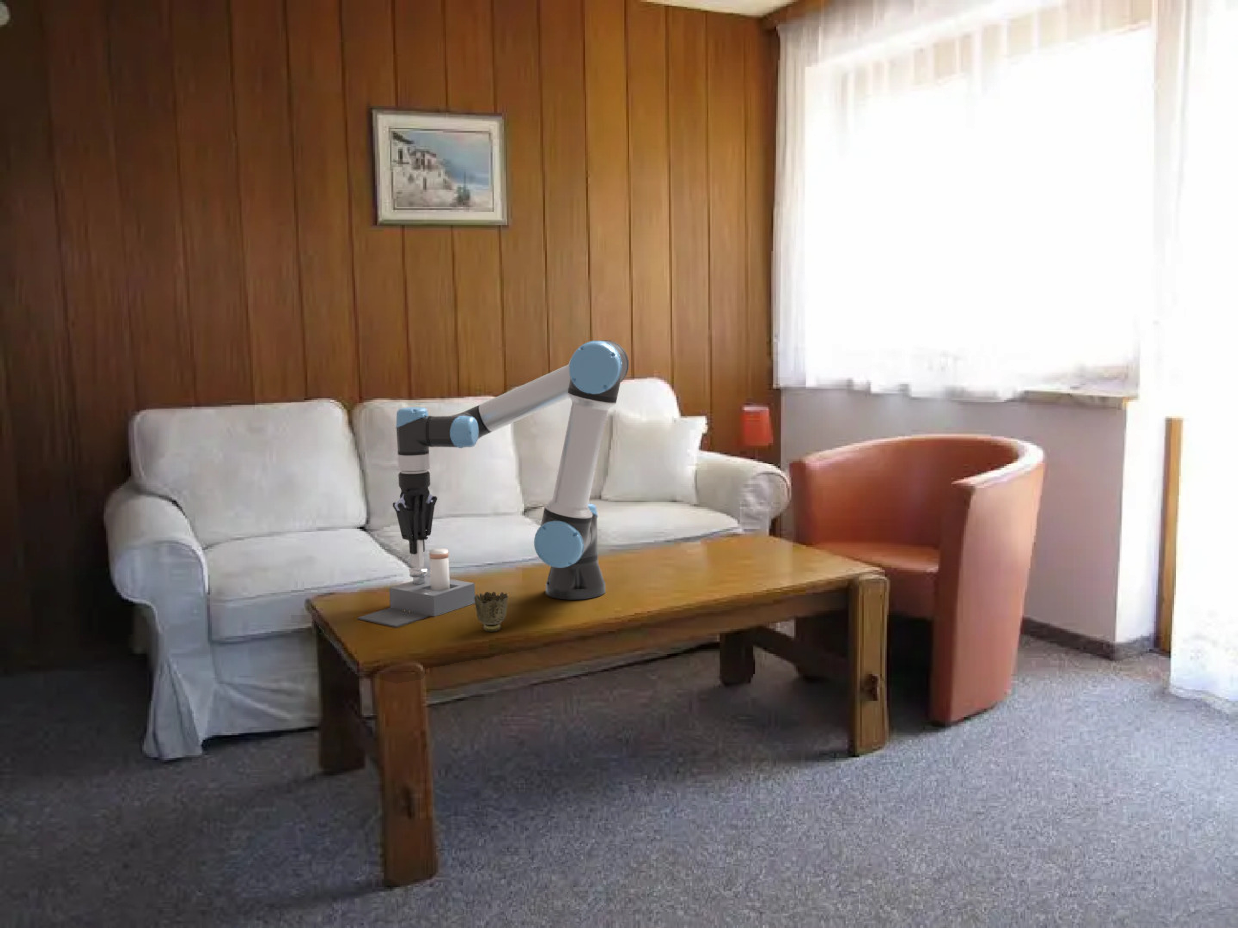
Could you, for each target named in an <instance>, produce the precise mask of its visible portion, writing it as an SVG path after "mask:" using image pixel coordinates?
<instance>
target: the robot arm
mask: <svg viewBox="0 0 1238 928" xmlns="http://www.w3.org/2000/svg"><path fill="white" fill-rule="evenodd" d="M629 366H630V362H629V357H628V354H627V352H626V350H625V349H624V348H623V347H622V345H620V344H619V343H617V342H615V341H612V340H607V339H601V340H597V339H596V340H591V341H587V342H585V343H583V344H582V345H580V346H579V347H578V348H577V349H576V350H575V351H574V353H573V354H572V356H571V358H570V359H569V362H568V364H567V365H564V366H562V367H560V368H558V369H555V370H553V371H551V372H549V373H547V374H544V375H542V376H539V377H537V378H535V379H533V380H531V381H529V382H526V383H525V384H522V385H520V386H518V387H516V388H513V389H511V390H509V391H507V392H505V393H503V394H500V395H498V396H496V397H494V398H492V399H489V400H486V401H485V402H483V403H481V404H478V405H476V406H474V407H472V408H469V409H467V410H465V411H462V412H459V413H455V414H453V415H438V416H437V415H436V416H435V415H429V413H428V409H427V407H423V406H422V407H418V406H416V407H415V406H412V407H402V408H399V409H398V410H397V411H396V418H395V419H396V421H395V422H396V424H395V425H396V426H395V429H396V430H395V431H396V445H397V468H398V470H399V473H398V475H397V476H398V487H399V489H400V495H399V499H398V500H397V502H396V501H395V502H393V503H392V508H393V509H394V511H395V513H396V518H397V522H398V526H399V530H400V535H401V538H402V540H405V541H408V542H409V543H408V547H409V554H410V555H411V559H410V560H411V566H412V567H413V568H416V567H425V561H424V560H425V559H424V557H425V555H424V552H425V551H426V548H425V545H426V544H425V541H428V538H429V537H428V536H431V533H432V528H433V519H434V511H435V506H436V504H437V502H438V501H437V500H438V496H436V495H432V494H431V493H430V488H429V487H430V486H431V472H429V470H431V469H430V465H431V464H430V448H459V449H464V448H473V447H474V446H475V445H476V444H477V442H478V440H479V439H480V438H482V437H484V436H486V435H489V434H491V433H492V432H494V431H497V430H500V429H502V428H503V427H506V426H509V425H510V424H513V423H515V422H518V421H519V420H522V419H524V418H526V417H529V416H531V415H534V414H536V413H537V412H540V411H542V410H544V409H546V408H549V407H551V406H554V405H556V404H558V403H561V402H562V401H565V400H567V399H570V400H571V406H570V412H569V416H568V421H567V427H566V430H565V437H564V442H563V445H562V452H561V457H560V462H559V466H558V469H557V470H558V471H557V475H556V481H555V485H554V491H553V496H552V499H551V500H550V501H548V502H547V503H545V504H544V508H543V513H542V518H541V523H540V526H539V527H538V529H537V530H536V533H535V535H534V538H533V539H534V540H533V546H534V550H535V553H536V555H537V556H538V558H539V559H540V560H541V561H542V563H544V564H546V565H548V566H550V569H549V572H548V577H547V580H546V582H545V595H546V596H548V597H551V598H554V599H558V600H573V601H574V600H575V601H577V600H587V599H592V598H597V597H600V596H603V595H604V594H605V593H606V581H605V580H604V577H603V573H602V570H601V568H600V565H599V555H598V551H599V550H598V549H599V548H598V510H597V506H596V505H595V504H593V503H590V498H591V494H592V489H593V484H594V480H595V474H596V469H597V464H598V460H599V455H600V450H601V445H602V440H603V436H604V430H605V427H606V422H607V418H608V417H607V416H608V412H609V409H610V408H611V407H613V406H615V405H616V404H617V400H618V396H619V391H620V386H621V383H622V382H623V381H624V380H625V378H626V376H627V375H628V373H629Z"/></svg>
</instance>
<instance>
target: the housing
mask: <svg viewBox="0 0 1238 928" xmlns="http://www.w3.org/2000/svg"><path fill="white" fill-rule="evenodd" d="M449 582H450V589H447V590H444V591H441V592H439V591H434V590H431V579H430V575H429V576H428V575H427V576H425V583H424V584H420V585H417V584H413V580H411V581H409V582H405V583H400V584H398V585H394V586H391V587H389V589H388V591H389V608H394V609H399V610H405V611H410V612H414V613H419V614H424V615H428V617H429V616H430V617H433V616H434V617H433V618H435V617H438V616H441V615H443V614H447V613H450V612H453V611H456V610H458V609H462V608H465V607H468V606H470V605H473V604H474V605H475V600H474V597H475V596H476V590H475V589H476V586H475V585H476V584H475V582H469V581H463V580H459V579H458V580H457V579H454V578H453V579H452V578H449Z"/></svg>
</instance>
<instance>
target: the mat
mask: <svg viewBox="0 0 1238 928" xmlns="http://www.w3.org/2000/svg"><path fill="white" fill-rule="evenodd" d="M427 618H429V615H424V614H419V613H414V612H409V611H404V610H399V609H394V608H390V607H387V608H384V609H381V610H378V611H374V612H371V613H368V614H365V615H361V616H358V617H357V619H358V620H360V621H365V622H370V623H374V624H379V625H383V626H387V627H391V628H397V629H398V628H400V627H403V626H405V625H408V624H411V623H415V622H417V621H418V622H419V621H421V620H423V619H427Z"/></svg>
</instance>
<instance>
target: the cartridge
mask: <svg viewBox="0 0 1238 928" xmlns="http://www.w3.org/2000/svg"><path fill="white" fill-rule="evenodd" d="M449 556H450V555H449V549H446V548H434V549H430V550H429V552H428V557H429V571H430V572H429V576H430V579H431V590H434V591H439V592H441V591H444V590H447V589H450V582H449V579H450V564H449V563H450V562H449V560H450V559H449V558H450V557H449Z"/></svg>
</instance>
